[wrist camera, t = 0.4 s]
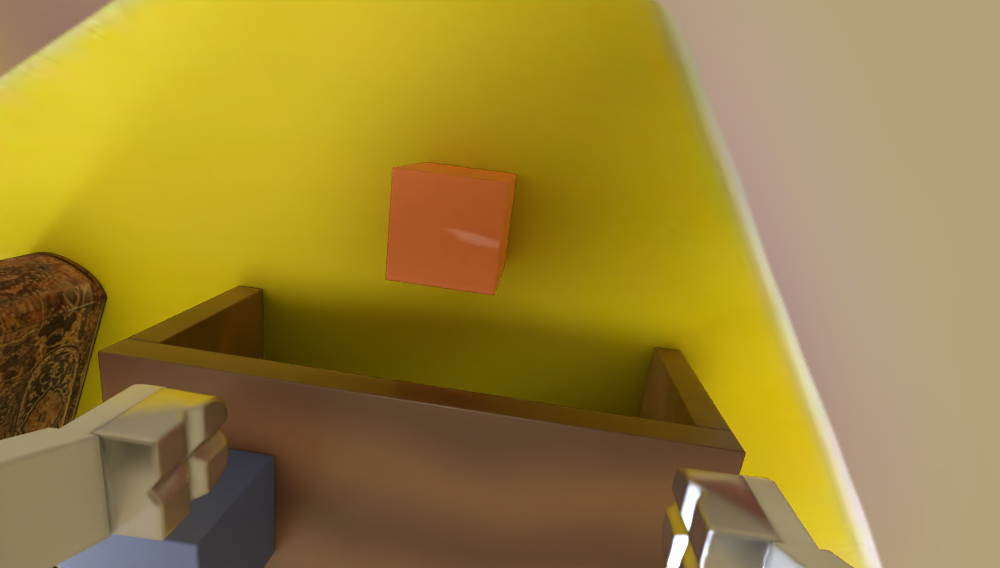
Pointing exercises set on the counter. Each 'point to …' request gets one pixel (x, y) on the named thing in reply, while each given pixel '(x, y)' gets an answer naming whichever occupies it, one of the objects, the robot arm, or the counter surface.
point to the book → (44, 340)
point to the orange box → (449, 226)
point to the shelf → (434, 454)
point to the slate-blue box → (206, 526)
